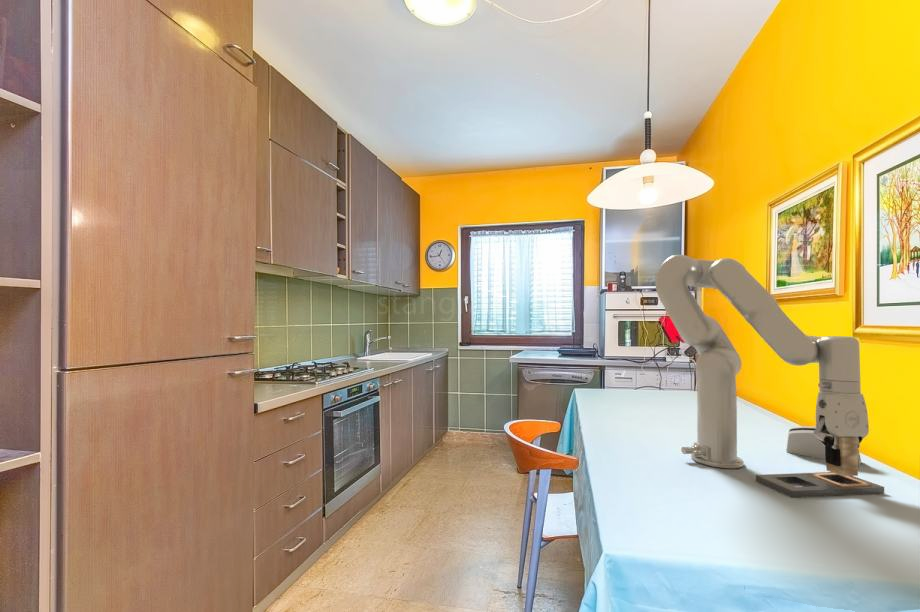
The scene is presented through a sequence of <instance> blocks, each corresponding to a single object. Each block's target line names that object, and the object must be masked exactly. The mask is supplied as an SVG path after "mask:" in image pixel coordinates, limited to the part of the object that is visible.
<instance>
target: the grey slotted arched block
mask: <svg viewBox="0 0 920 612" xmlns="http://www.w3.org/2000/svg"><path fill="white" fill-rule="evenodd" d="M815 429H816V426H810V425H809V426H808V425H807V426H805V425H804V426H793V427H791V428H790V429H789V431H788V435H787V440H786V441H787V442H786V448H785V449H786V451H785V452H786V453H788V454H794V455H799V456H804V455H805V456H804V457H809V456H811V457H810V458H814V457H816V458H815V459H820V458H821V459H820V460H825V446H823V443H822V442H821V441H820V440H819V439H818V438H817V437H815V436H814V435H813V433H814V431H815ZM857 455H858V465H860V464H862V459H861V454H860V448H857ZM860 466H861V465H860Z"/></svg>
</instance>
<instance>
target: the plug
mask: <svg viewBox="0 0 920 612" xmlns="http://www.w3.org/2000/svg"><path fill="white" fill-rule="evenodd" d="M832 438H833V437H830V439H831V440H832ZM837 449H840V463H841V465H840V466H835V465H832V464H829V463H826V472H833V473H836V474H838V475H841V476H854V477H857V476H859V474H858V473H859V466H858V455H857V437H839V443H838V448H837Z"/></svg>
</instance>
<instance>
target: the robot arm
mask: <svg viewBox="0 0 920 612" xmlns="http://www.w3.org/2000/svg"><path fill="white" fill-rule="evenodd" d="M689 287H695V288H705V289H714V290H715V289H716V290H717V291H719V293H720V294H721V295H722V296H724V298H725V299H726V300H727V301H728V302H729V303H730V304H731V305H732V306H733V307H734V308H735V310H736V311H738V313H739V314H740V315H741V316H742V317H743V319H744V320H745V321H746V322H747V323H748V324H749V325H750V326H751V327H752V328H753V330H755V332H756V333H757V334H758V335H759V336H760V338H762V340H764V342H765V343H766V344H767V345H768V346H769V347H770V348H771V349H772V351H774V352H775V354H776V355H777V356H778V357H779V358H780V359H781V360H782V361H784V362H785V363H787V364H789V365H792V366H798V367H799V366H805V365H809V364H817V363H818V378H819V379H818V388H819V391H818V393H817V398H816V404H815V405H816V406H815V427H816V429H815V431H814V433H813V435H814V436H815V437H817V438H818V439H819V440H820V441H821V442H822V443H823V446H825V459H824V460H825V462H826V463H829V464H832V465H835V466H840V465H841V463H840V449H837V448H838V443H839V437H857V448H858V449H860V446H861V442H862V441H863V440H864V438H866V437H867V436H868V435H869V433H870V432H869V431H870V429H869V428H870V427H869V416H868V407H867V404H866V400H865V399H866V398H865V396H864V393H863V394H862V393H861V392H862V391H861V389H862V388H861V361H860V360H861V359H860V358H861V357H860V354H861V353H860V342H859V340H858V339H857V338H855V337H853V336H841V335H838V336H837V335H827V336H826V335H825V336H814V335H813V336H812V335H807V334H805V333H804V331H803V330H801V329H800V328H799V326H797V324H795V323H794V321H793V320H792V319H791V318H790V317H789V316H787V314H786V313H785V312H784V311H783V310H782V308H781V306H780V305H779V304H778V302H777V300H776V299H775V297H773V295H772V294H771V293H770V292H769V291H768V290H767V289H766V288H765V287H764V286H763V285H762V284H760V282H759V281H758V280H757V279H756V278H755V277H754V276H753V275H752V274H751V273H750V272H749V271H748V270H747V269H746V267H745V265H743V264H742V263H741V262H739V261H738V260H736V259H734V258H731V257H725V258H719V259H718V260H707V259H706V260H705V259H697V258H692V257H690V256H688V255H685V254H674V255H671V256H669V257H668V258H666V259H665V260H664V261H663V262H662V263H661V265H660V266H659V268H658V270H657V272H656V274H655V291H656V293H657V296H658V298H659V300H660V302H661V304H662V306H663V308H664V309H665V311H666V313H667V314H668V316H669V319H670V320H671V322H672V323H673V326H674V327H675V329H676V330H677V332H678V335H679V336H680V338H681V339H682V341H683V342H684V343H685V344H687V345H688V346H691V347H694V349H695V351H696V353H697V354H698V356H697V359H696V361H695V381H696V391H697V392H696V393H697V394H696V396H697V397H696V398H697V399H696V403H697V409H696V412H697V418H696V419H697V420H696V421H697V429H696V430H697V433H696V434H697V435H696V436H697V437H696V440H697V441H695V442H693V445H691V446H682V447H681V450H680V451H681V453H682V454H683V455H690V454H691V455H690V457H691V459H692V460H693V461H695V462H697V463H699V464H701V465H706V466H708V467H709V466H710V467H713V468H719V469H720V468H722V469H740V468H742V467H743V466H745V463H744V462H745V461H744V460H743V458H741V457H738V428H737V427H738V418H737V417H738V410H737V409H738V407H737V406H738V405H737V403H738V402H737V401H738V399H737V379H736V377H737V375H738V374H739V373H740V371H741V369H742V360H741V356H740V355H739V353H738V351H737V349H736V348H735V346H734V345H733V343H732V341H731V340H730V338H729V337H728V335H727V333H726V332H725V331H724V328H723V327H722V326H721V325H720V323H719V322H718V320H716V319H715V318H713V317H712V316H710V315H707V314H706V313H705V312H704V310H703V309H702V308H701V306H700V304H699V303H698V300H697V299H696V298H695V296H694V295H693V293H692V292H691V289H689ZM830 437H833V438H832V440H831V439H830Z"/></svg>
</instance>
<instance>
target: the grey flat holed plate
mask: <svg viewBox="0 0 920 612" xmlns="http://www.w3.org/2000/svg"><path fill="white" fill-rule="evenodd" d="M755 482H757V483H758V484H762V485H764V486H765V487H768V488H770V489H772V490H774V491H777V492H779V493H781V494H783V495H784V496H788V497H790V498H792V499H795V498H796V499H798V498H815V497H816V498H817V497H819V498H820V497H821V498H822V497H838V496H839V497H840V496H843V497H844V496H858V495H859V496H862V495H880V494H881V495H882V494H885V486H883V485H879V484H877V483H874V482H871V481H867V480H866V479H862V478H859V477H857V476H841V475H838V474H836V473H833V472H830V471H824V472H797V473H774V474H771V473H770V474H755ZM793 484H797V485H800V486H795V485H793Z"/></svg>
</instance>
